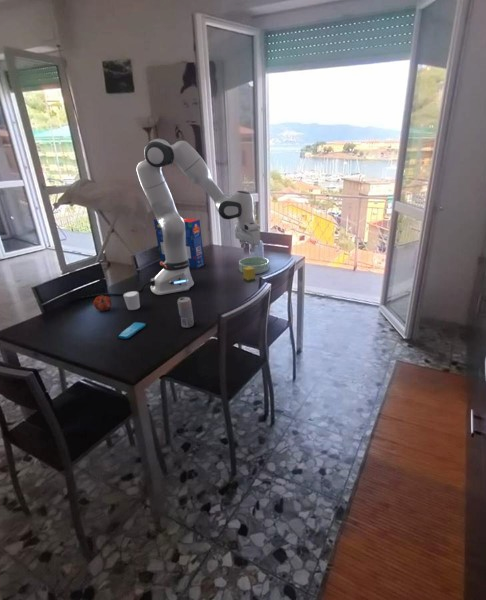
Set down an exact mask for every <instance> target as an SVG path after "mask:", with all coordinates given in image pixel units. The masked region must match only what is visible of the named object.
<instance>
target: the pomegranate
mask: <svg viewBox="0 0 486 600" xmlns="http://www.w3.org/2000/svg"><path fill="white" fill-rule="evenodd" d="M93 306H94V308H95V309H96V310H97V311H99V312H105V311H109V310H110V309H111V307H112V300H111V298H110V297H109V296H108V295H100V296H95V298H94V300H93Z"/></svg>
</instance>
